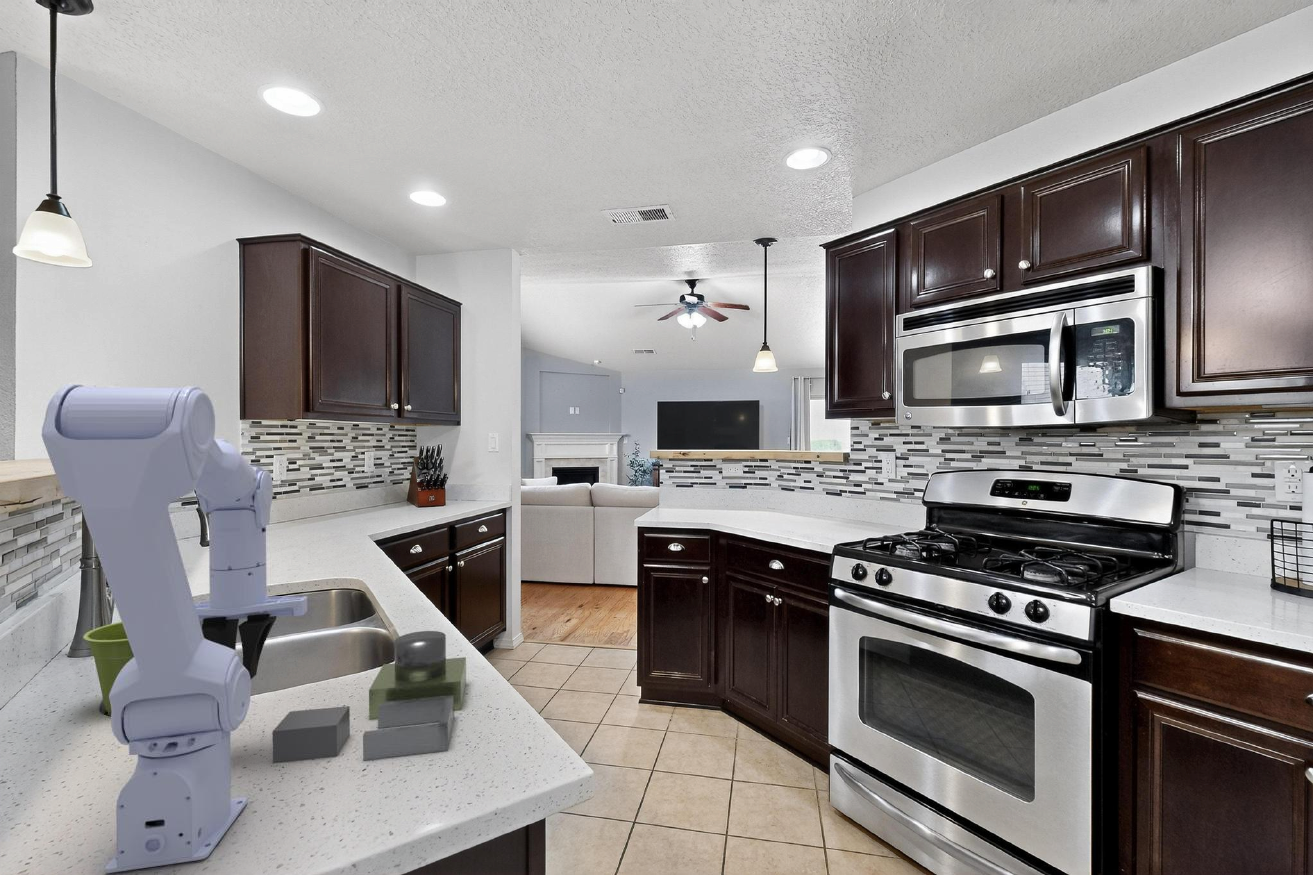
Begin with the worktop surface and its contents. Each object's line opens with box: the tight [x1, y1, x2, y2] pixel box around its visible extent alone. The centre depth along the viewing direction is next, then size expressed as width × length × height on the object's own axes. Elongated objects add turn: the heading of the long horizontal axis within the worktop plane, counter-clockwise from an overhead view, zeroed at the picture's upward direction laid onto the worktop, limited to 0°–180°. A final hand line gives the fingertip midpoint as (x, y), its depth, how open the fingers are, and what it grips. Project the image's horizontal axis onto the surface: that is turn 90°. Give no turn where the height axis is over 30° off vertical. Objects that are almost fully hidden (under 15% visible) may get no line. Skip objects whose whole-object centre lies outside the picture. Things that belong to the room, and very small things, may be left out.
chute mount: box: [362, 630, 467, 762], centre depth 85 cm, size 22×12×9 cm, turn 13°
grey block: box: [271, 705, 351, 764], centre depth 77 cm, size 6×7×4 cm
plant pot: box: [82, 621, 134, 714], centre depth 91 cm, size 12×12×11 cm
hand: (239, 678), depth 75 cm, fingers closed
